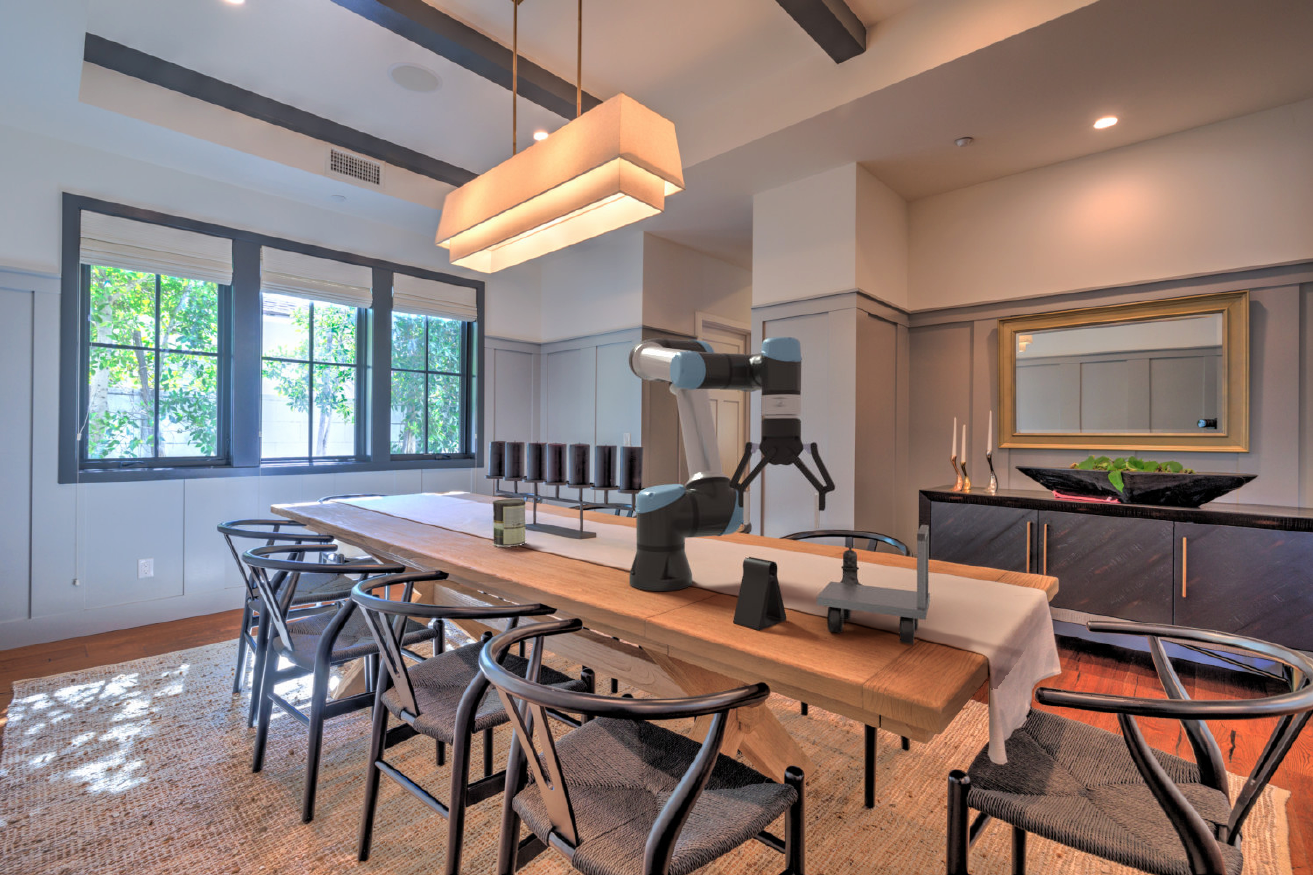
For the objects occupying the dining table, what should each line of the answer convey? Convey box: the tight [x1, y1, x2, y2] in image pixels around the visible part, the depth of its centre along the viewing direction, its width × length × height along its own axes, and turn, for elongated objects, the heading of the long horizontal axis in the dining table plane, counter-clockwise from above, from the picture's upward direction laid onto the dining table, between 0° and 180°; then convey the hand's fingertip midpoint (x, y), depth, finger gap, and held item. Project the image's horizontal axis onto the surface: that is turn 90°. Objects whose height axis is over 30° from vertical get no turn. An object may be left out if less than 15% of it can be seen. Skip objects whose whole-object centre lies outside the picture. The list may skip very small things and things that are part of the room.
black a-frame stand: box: [732, 556, 788, 631], centre depth 112 cm, size 9×6×12 cm, turn 133°
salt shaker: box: [838, 546, 863, 585], centre depth 124 cm, size 6×6×12 cm
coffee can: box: [492, 498, 526, 548], centre depth 189 cm, size 10×10×14 cm
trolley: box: [816, 524, 931, 645], centre depth 107 cm, size 18×13×19 cm
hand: (781, 525), depth 115 cm, fingers open, 13 cm apart
